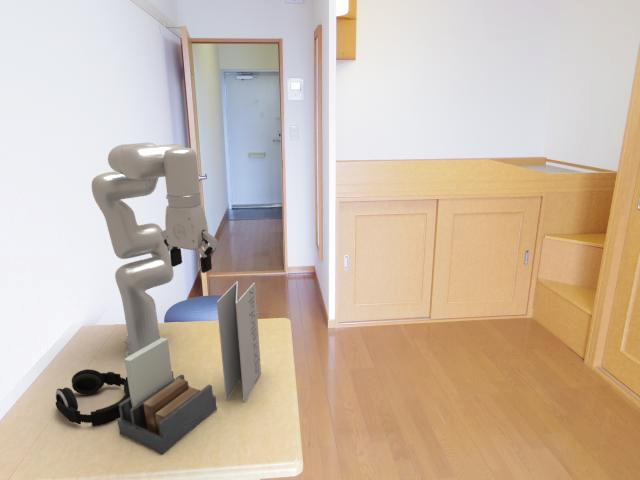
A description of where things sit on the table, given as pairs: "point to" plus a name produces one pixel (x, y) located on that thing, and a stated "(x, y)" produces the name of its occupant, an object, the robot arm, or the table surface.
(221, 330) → the brochure
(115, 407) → the headphones
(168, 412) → the offcut short
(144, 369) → the pale grey panel
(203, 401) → the rack
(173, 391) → the offcut tall
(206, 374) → the table surface
